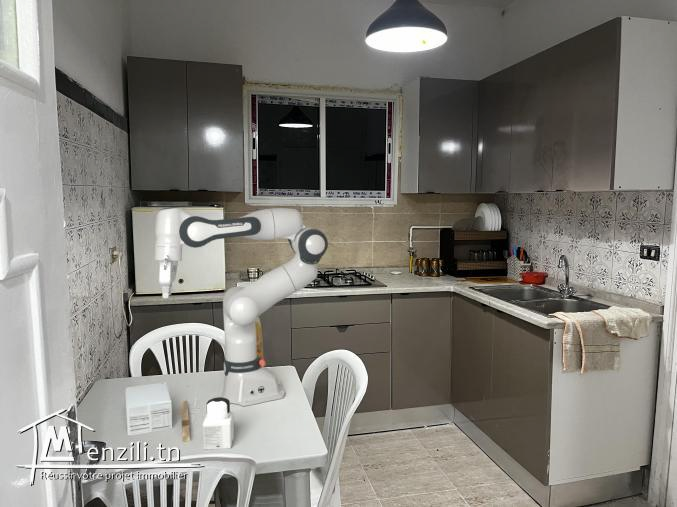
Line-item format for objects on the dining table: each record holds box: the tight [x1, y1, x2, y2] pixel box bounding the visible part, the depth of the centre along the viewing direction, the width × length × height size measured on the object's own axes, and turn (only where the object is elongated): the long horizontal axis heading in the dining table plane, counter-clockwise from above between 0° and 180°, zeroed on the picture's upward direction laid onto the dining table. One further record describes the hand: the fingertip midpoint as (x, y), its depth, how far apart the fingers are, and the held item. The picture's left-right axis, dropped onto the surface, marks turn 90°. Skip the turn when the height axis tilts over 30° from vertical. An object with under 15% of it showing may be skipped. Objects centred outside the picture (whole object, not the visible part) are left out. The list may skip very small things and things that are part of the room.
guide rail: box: [180, 400, 191, 443], centre depth 159 cm, size 2×26×2 cm, turn 18°
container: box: [202, 396, 235, 450], centre depth 145 cm, size 8×8×13 cm
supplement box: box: [124, 381, 173, 437], centre depth 159 cm, size 17×13×9 cm
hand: (166, 296), depth 168 cm, fingers open, 8 cm apart
